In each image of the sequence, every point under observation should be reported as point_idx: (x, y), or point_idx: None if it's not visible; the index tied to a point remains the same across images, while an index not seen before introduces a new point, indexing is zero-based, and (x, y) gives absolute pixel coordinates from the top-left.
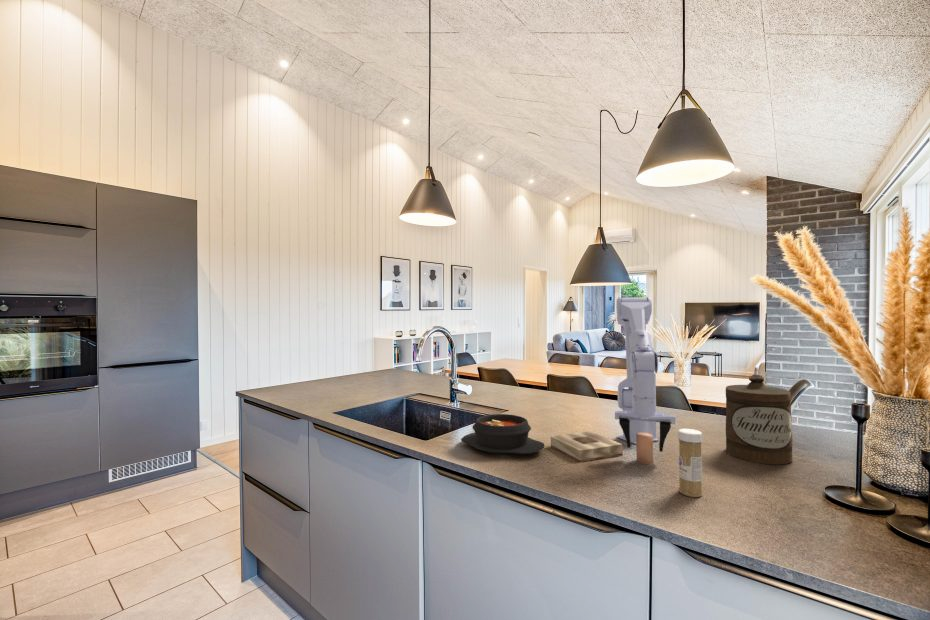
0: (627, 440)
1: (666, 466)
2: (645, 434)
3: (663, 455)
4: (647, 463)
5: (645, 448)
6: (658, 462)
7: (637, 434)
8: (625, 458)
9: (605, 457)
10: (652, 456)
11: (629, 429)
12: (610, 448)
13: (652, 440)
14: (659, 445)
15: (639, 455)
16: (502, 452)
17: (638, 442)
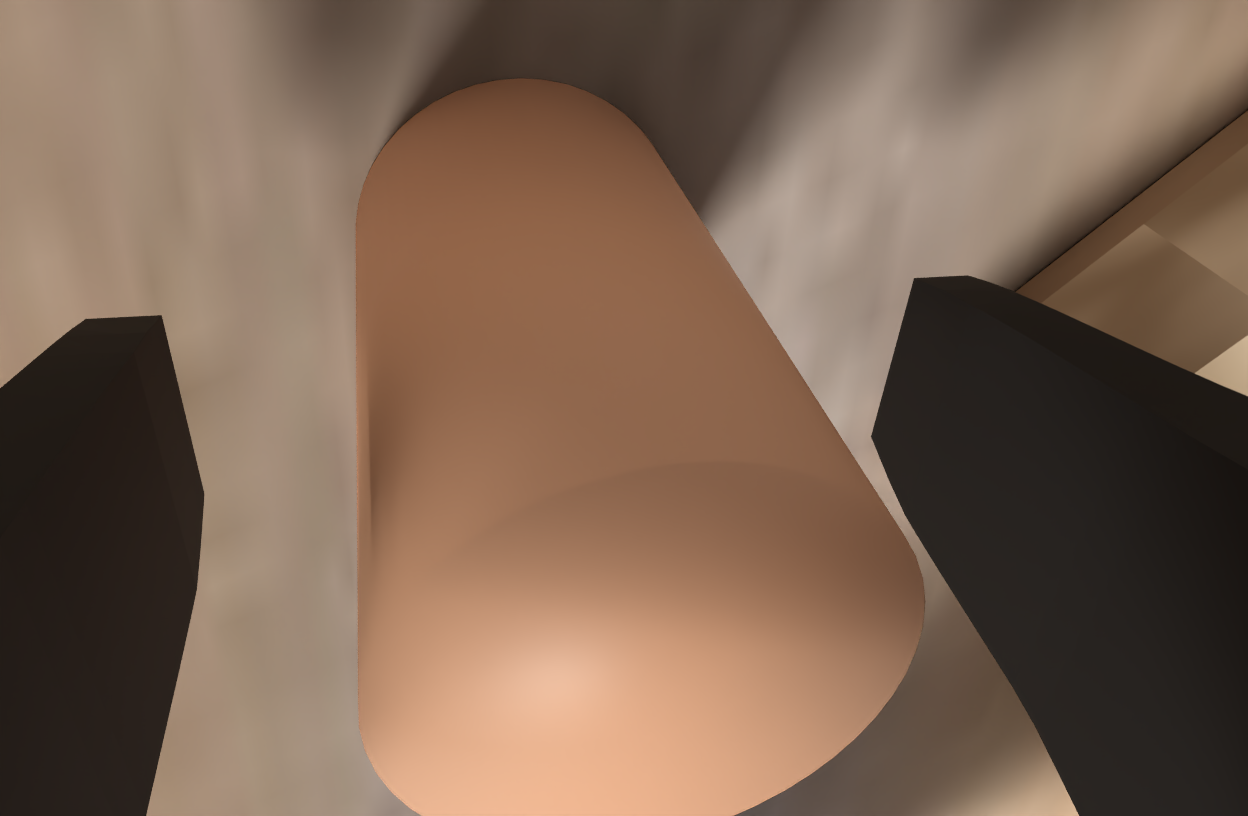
0: (1113, 343)
1: (36, 94)
2: (619, 720)
3: (224, 657)
4: (467, 94)
5: (563, 232)
6: (253, 289)
7: (895, 607)
8: (863, 258)
9: (1228, 132)
10: (365, 249)
11: (1172, 749)
12: (1227, 294)
13: (366, 534)
14: (158, 497)
15: (665, 180)
16: None
17: (792, 366)
